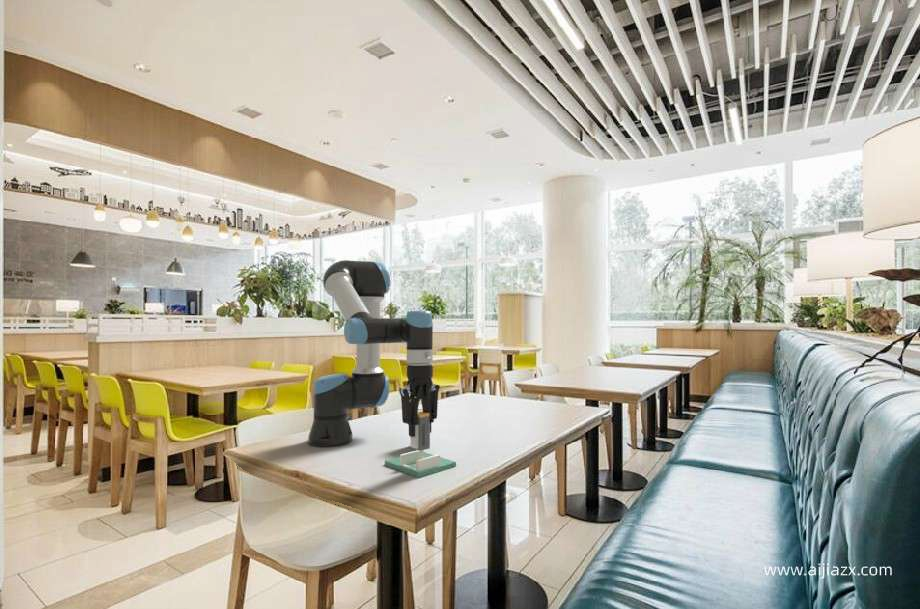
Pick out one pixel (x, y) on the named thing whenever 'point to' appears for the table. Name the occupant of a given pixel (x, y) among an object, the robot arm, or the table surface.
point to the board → (420, 463)
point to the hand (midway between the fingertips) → (420, 446)
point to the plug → (423, 430)
